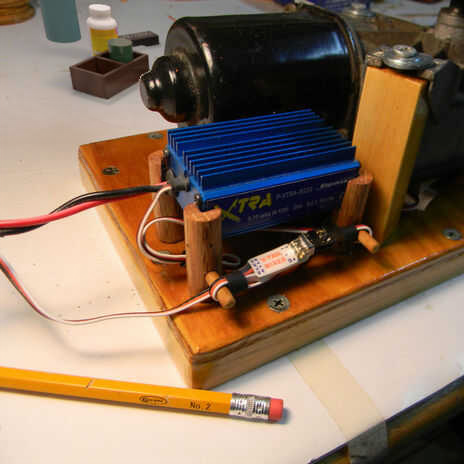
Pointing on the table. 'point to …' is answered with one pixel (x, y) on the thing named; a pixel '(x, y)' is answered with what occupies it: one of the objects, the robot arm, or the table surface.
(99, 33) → the supplement bottle
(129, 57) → the green jar
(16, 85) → the table surface
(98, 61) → the cup holder
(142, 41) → the multiport hub
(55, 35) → the water bottle
